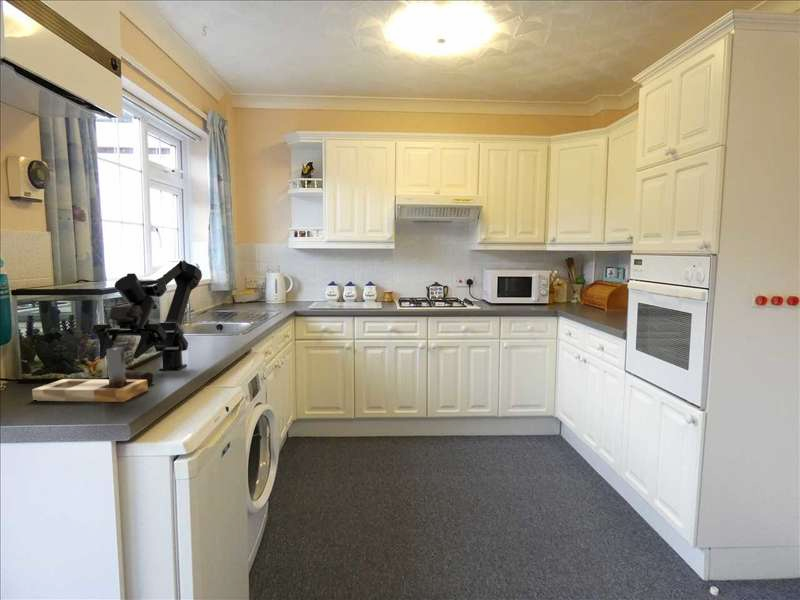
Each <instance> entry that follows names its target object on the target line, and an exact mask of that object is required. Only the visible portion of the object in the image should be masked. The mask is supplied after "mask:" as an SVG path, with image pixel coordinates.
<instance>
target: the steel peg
mask: <svg viewBox="0 0 800 600" xmlns="http://www.w3.org/2000/svg"><path fill="white" fill-rule="evenodd" d="M106 352H107V355H106V359H107V360H106V363H107V367H108V377H109V388H122V387H125V386H127V382H126V370H127V369H126V357H125V347H123V346H122V347H121V346H118V347H117V346H115V347H112V348H109V349H106Z"/></svg>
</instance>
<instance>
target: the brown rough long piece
mask: <svg viewBox="0 0 800 600" xmlns="http://www.w3.org/2000/svg"><path fill="white" fill-rule="evenodd" d="M107 368H108V366H107V367H106V369H107ZM153 379H154V373H152V372H150V371H147V372H144V371H139V370H136V371H135V370H130V369H126V380H147V383H148V385H151V384H152V383H153Z"/></svg>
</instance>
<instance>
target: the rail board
mask: <svg viewBox="0 0 800 600" xmlns="http://www.w3.org/2000/svg"><path fill="white" fill-rule="evenodd" d="M126 382H127V386H125V387H122V388H109V379H108V378H107V379H104V378H102V379H101V378H86V379H85V378H62V379H59V380H57V381H53V382H51V383H48V384H44V385H42V386H38V387H35V388H33V389H32V390H31V394H32V401H33V400H37V401H38V402H40V401H41V402H44V401H46V402H47V401H49V402H100V403H101V402H108V403H109V402H113V403H114V402H115V403H117V402H118V403H119V402H120V403H121V402H126V401H128V400H130V399H132V397H133V398H135V397H137V396H138V395H141V394H143V393H145V392H147V391H149V386H148V383H147V380H126ZM134 396H135V397H134ZM37 401H36V402H37Z"/></svg>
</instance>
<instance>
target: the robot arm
mask: <svg viewBox="0 0 800 600" xmlns="http://www.w3.org/2000/svg"><path fill="white" fill-rule="evenodd" d="M202 273H203V272H202V271H201V270H200V268H199V267H197V266H196V265H194V264H191V263H189V262H187V261H186V260H185V259H184V260H183V259H171V260H169V261H167V263H166V264H165V265H164V266H163V267H161V268H160V269H159V270H157V271H156V272H154V273H153V274H151V275H146V276H143V277H140V278H138V277H137V274H136V273H134V272H133V273H127V274H126V275H125V276H123V277H121V278H119V279H118V280H116V281H115V284H114V288H115V290H116V291H117V292H118V293H119V295H120V297H122V298H123V300H124V301H125V302H127V303H130V305H129V306H111V307H110V311H109V316H108V319H109V320H113V321H115V325H116V326H117V327H118V328H117V327H116V328H115V327H113V326H111V325H110V323H95V324H93V325H92V327H91V328H90V333H91V334H92V335H93V336H94V337H95V338H97V340H98V341H99V356H98V357H99V359H100V360H104V359H105V358H106V357H107V352H106V349H109V348H113V347H114V345H115V344H116V343H115V341H116V340H117V337H118V336H119V337H120V336H121V337H122V336H125V337H126V336H129V337H140V340H139V341H138V344H137V346H136V349H135V351H134V354H133V358H134V359H135V360H137V359H138V358H140V357H141V356H142V355H143V354H144V353H146V352H147V351H149V349H151V348H153V347H154V349H155V352H161V359H162V360H161V361H162V362H161V363H162V367H160V368H158V371H178V370H181V369H182V368H185V367H187V366H188V364H186V363H183V351H187V349H188V347H189V342H188V340H187V339H186V338H185V336H184V334H185V332H184V331H183V328H182V323H183V319H184V316H185V313H186V309H187V305H188V302H189V299H190V297H191V293H192V291H193V290H194V289H196V288H197V287H198V286H199V284H200V281H201V280H202V277H203V274H202ZM173 280H174V282H175V284H176V287H175V290H174V294H173V296H172V300H171V302H170V305H169V309H168V312H167V315H166V318H165V321H163V322H161V321H160V322H155V323H154V322H153V323H150V322H151V320H150V319H149V317H150V314H151V313H152V310H157V309H158V306H157V304H156V300H154V298H159V297H162V296H163V295H164V294H165V292H166V291H167V289H168V288H167V285H168V284H169V283H170V282H172V281H173Z"/></svg>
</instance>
